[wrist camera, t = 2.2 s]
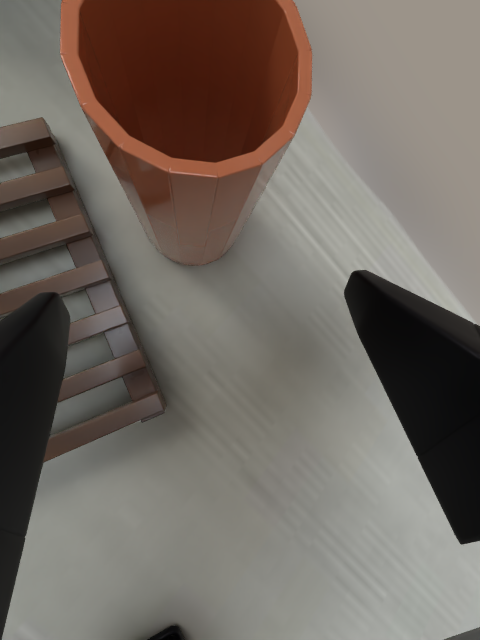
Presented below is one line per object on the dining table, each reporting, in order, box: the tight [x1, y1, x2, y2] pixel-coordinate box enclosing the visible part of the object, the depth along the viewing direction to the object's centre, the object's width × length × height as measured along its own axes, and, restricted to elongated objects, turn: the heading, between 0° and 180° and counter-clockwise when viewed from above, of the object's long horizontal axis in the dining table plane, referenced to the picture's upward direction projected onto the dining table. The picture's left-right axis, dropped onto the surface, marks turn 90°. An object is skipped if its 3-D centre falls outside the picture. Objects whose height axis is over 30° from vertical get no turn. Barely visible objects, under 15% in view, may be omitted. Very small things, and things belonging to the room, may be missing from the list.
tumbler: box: [60, 0, 312, 266], centre depth 14 cm, size 7×7×13 cm
